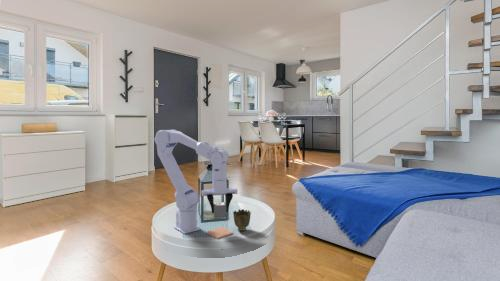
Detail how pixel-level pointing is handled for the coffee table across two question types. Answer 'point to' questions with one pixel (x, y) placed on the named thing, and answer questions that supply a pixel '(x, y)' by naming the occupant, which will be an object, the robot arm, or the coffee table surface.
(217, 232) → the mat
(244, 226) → the cup
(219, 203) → the letter block
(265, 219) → the coffee table surface
